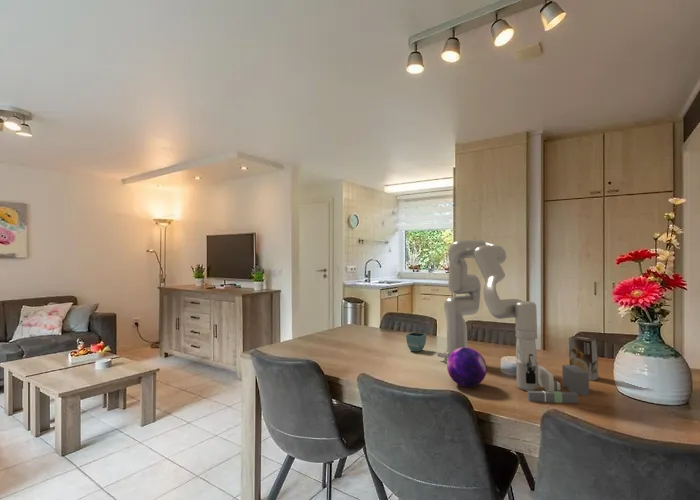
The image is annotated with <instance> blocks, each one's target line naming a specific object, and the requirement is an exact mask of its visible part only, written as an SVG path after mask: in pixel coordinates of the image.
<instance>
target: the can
mask: <svg viewBox="0 0 700 500" xmlns="http://www.w3.org/2000/svg"><path fill="white" fill-rule="evenodd" d="M515 361H516V364H515V365H516V369H515V370H516V386H517V387H518V389H520V390H522V391H537V389H539V384H538V365H539V363H538V361H537V362H536V367H535V368H536V370H535V371H536V373H535V378H536V383H535V384H527V383H526V372H527V370H526V365H522V364H521V361H520V358H519V357H518V359H516V360H515ZM527 364H531V363H530V362H528V363H527ZM528 367H529V368H530V367H531V366H528Z"/></svg>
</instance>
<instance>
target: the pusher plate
mask: <svg viewBox="0 0 700 500" xmlns="http://www.w3.org/2000/svg"><path fill="white" fill-rule="evenodd" d="M538 386H540V387H541V388H542V389H543V390H544V391H561V383H560V382H559V381H557V380H554V374H553V373H551V372H550V371H549V370H547V368H545V367H544V366H543V365H539V364H538Z"/></svg>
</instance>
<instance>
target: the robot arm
mask: <svg viewBox="0 0 700 500" xmlns="http://www.w3.org/2000/svg"><path fill="white" fill-rule="evenodd" d="M447 254H448V255H447V256H448V263H449V265H448V268H449V269H448V284H447V285H448V291H449V293H452V294H454V295H458V296H450V297H448V298H447V299H445V301H444V303H443V309H444V313H445V322H446V349H447V350H445V351H444V352H437V357H438V358H443V361H444V363H446V364H447V361H448V358H449V356H450V354H451V353H452V352H453V351H454V350H456V349H458V348H462V347H468V327H467V322H466V320H465V318H464V317H463V316H471V315H472V316H473V315H475V314H477V313H478V311H479V310H480V304H481V303H480V302H481V287H482V286H481V282H480V278H479V277H478V276H477V275H476V274H473V273H468V268H469V267H468V264H467V262H466V260H465V259H474V260H475V263H476V265H477V266H478V268H479V271H480V273H481V275H482V278H483V280H484V281H485V283H484V286H483V300H484V303H485V305H486V307H487V310H488V311H489V313H490V314H491V316H493V318H495V319H498V320H501V319H502V320H503V319H513V318H514V319H515V320H514V322H515V325H514V326H515V338H516V342H515V348H516V349H515V359H516V360H517V359H518V357H519V358H520V361H521V364H522V365H526V370H527V372H526V383H527V384H535V383H536V378H535V373H536V371H535V370H536V368H535V367H536V362H538V361H537V346H536V344H537V343H536V340H537V339H538V324H537V323H538V321H537V320H538V319H537V317H538V316H537V315H538V314H537V305H536V303H535V302H533V301H527V300H526V301H525V300H521V299H518V298H507V299H500V297H499V294H498V292H497V289H496V288H497V284H498V283H500V282H501V281H503V280H504V279H505V276H506V273H505V271H504V269H503V267H502V265H501V264H503V263H504V262H505V261H506V259H507V254H506V250H505V248H503V247H502V246H501V245H499V244H495V243H493V242H489V241H486V240H481V239H480V240H478V239H476V240H475V239H473V240H472V239H471V240H470V239H462V240H461V239H460V240H456V241H454V242H452V243H451V244H450V246H449V247H448V253H447ZM528 362H530V363H531V364H527V363H528ZM528 366H531V367H530V368H529V367H528Z"/></svg>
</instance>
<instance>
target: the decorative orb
mask: <svg viewBox="0 0 700 500" xmlns="http://www.w3.org/2000/svg"><path fill="white" fill-rule="evenodd" d="M446 369H447V373H448V375H449V377H450V378H451V380H452V381H453V382H455V383H456V384H457V385H459V386H461V387H467V388H469V387H470V388H472V387H475V386H478V385H480V384H481V383H482V382H483V381H484V379H485V378H486V375H487V363H486V360H485V358H484V356H483V355H482V354H481V353H480V352H479V351H477V350H476V349H474V348H472V347H468V346H467V347H462V348H458V349H456V350H454V351H453V352H452V353H451V354H450V356H449V358H448V361H447V363H446Z"/></svg>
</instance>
